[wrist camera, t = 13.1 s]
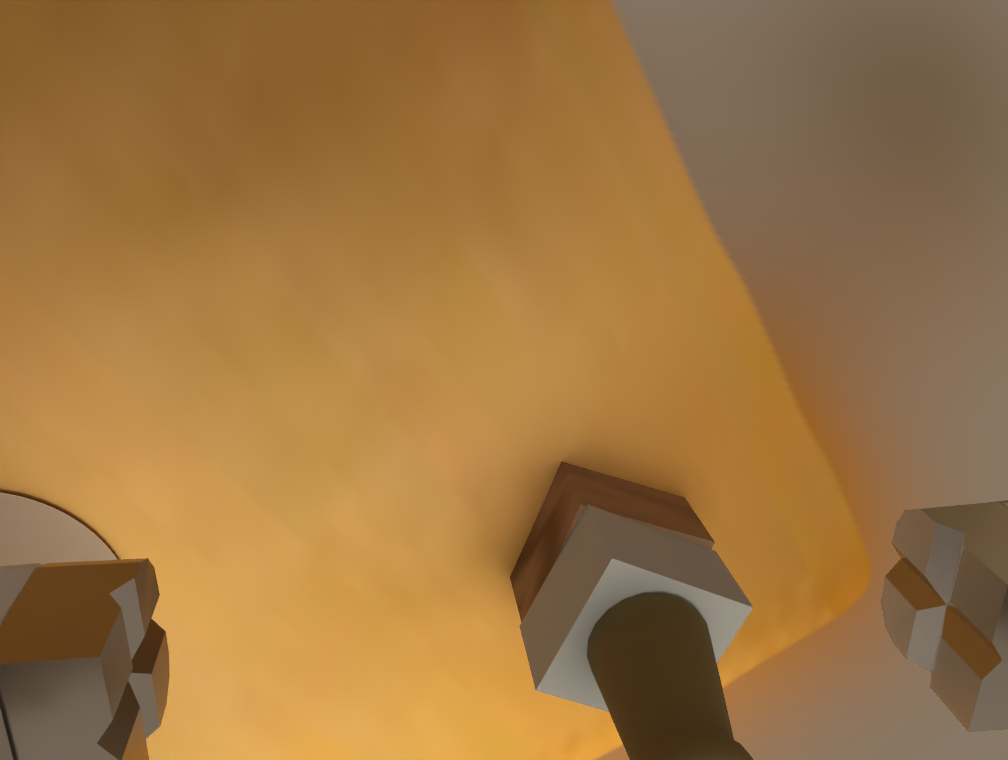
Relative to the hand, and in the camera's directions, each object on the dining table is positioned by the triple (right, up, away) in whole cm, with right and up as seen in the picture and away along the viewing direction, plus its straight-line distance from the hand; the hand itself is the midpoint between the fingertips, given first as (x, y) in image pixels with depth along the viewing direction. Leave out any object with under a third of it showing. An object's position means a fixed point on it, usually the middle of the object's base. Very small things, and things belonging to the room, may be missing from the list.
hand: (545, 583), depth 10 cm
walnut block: (+5, -7, +42) cm, 43 cm away
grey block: (+6, -9, +38) cm, 39 cm away
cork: (+7, -11, +33) cm, 35 cm away
